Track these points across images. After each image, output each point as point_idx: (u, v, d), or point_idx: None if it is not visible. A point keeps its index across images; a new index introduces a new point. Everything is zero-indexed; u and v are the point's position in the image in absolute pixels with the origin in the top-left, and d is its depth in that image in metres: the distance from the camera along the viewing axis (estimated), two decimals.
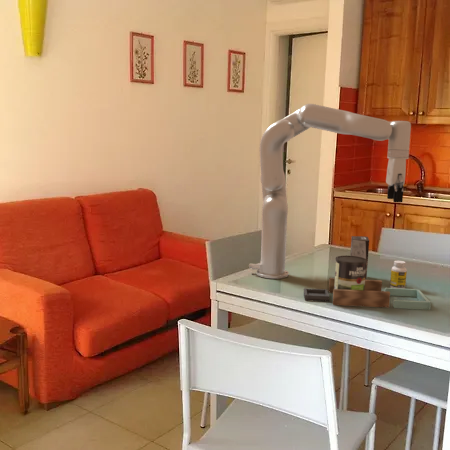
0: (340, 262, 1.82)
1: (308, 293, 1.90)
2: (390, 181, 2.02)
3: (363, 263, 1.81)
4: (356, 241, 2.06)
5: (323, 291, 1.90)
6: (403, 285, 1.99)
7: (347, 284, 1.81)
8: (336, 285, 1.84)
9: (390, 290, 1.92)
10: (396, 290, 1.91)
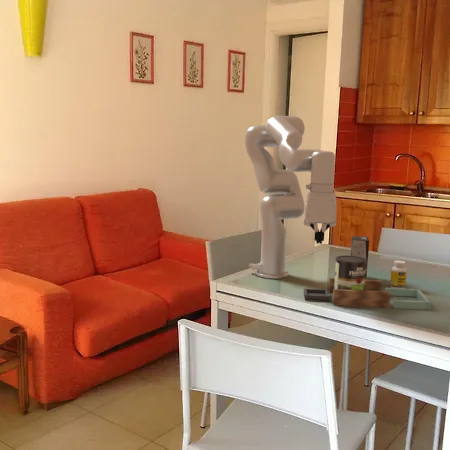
0: (340, 262, 1.82)
1: (308, 293, 1.90)
2: (330, 219, 1.80)
3: (363, 263, 1.81)
4: (356, 241, 2.06)
5: (323, 291, 1.90)
6: (403, 285, 1.99)
7: (347, 284, 1.81)
8: (336, 285, 1.84)
9: (390, 290, 1.92)
10: (396, 290, 1.91)
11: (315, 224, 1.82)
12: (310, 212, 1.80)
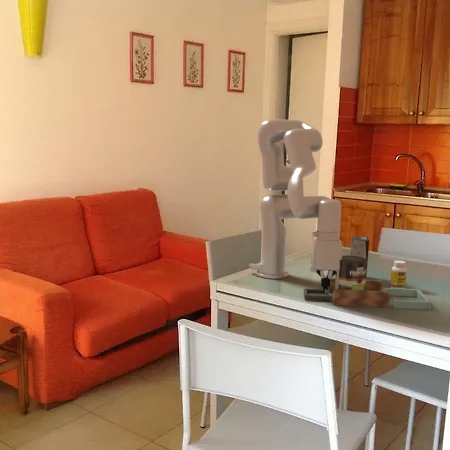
0: (341, 262, 1.82)
1: (308, 293, 1.90)
2: (336, 266, 1.82)
3: (364, 263, 1.81)
4: (356, 241, 2.06)
5: (323, 291, 1.90)
6: (403, 285, 1.99)
7: (347, 284, 1.81)
8: (337, 285, 1.84)
9: (390, 290, 1.92)
10: (396, 290, 1.91)
11: (321, 271, 1.85)
12: (316, 259, 1.83)
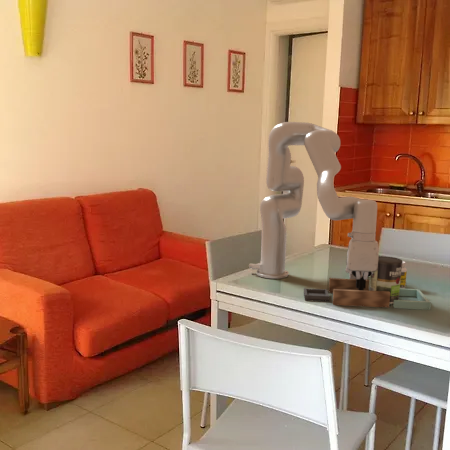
0: (380, 263, 1.81)
1: (308, 293, 1.90)
2: (372, 267, 1.81)
3: (401, 263, 1.81)
4: None
5: (323, 291, 1.90)
6: (403, 285, 1.99)
7: (387, 285, 1.81)
8: (374, 287, 1.83)
9: None
10: None
11: (357, 272, 1.83)
12: (352, 260, 1.81)
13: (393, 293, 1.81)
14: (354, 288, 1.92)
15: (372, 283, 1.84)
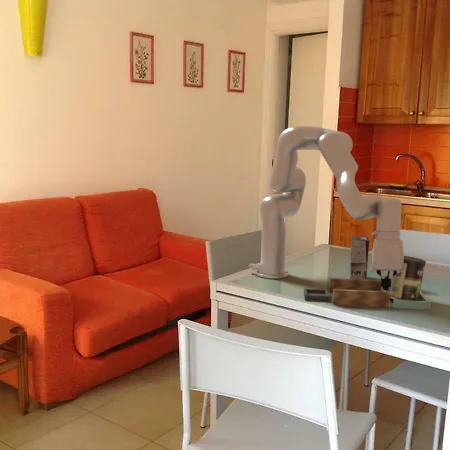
0: (409, 262, 1.80)
1: (308, 293, 1.90)
2: (397, 266, 1.80)
3: None
4: (356, 241, 2.06)
5: (323, 291, 1.90)
6: None
7: (414, 284, 1.81)
8: (400, 285, 1.82)
9: None
10: None
11: (382, 271, 1.82)
12: (377, 259, 1.80)
13: (418, 292, 1.82)
14: (354, 288, 1.92)
15: (398, 282, 1.82)
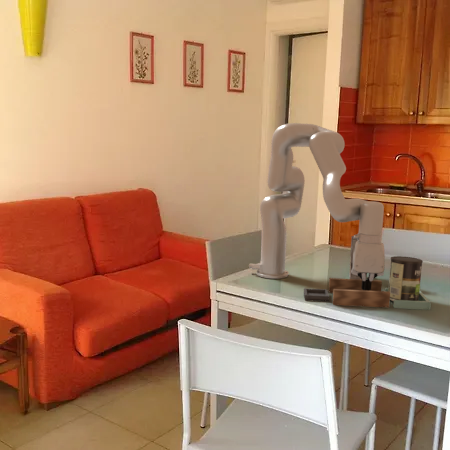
0: (405, 263, 1.80)
1: (308, 293, 1.90)
2: (378, 269, 1.81)
3: None
4: (356, 241, 2.06)
5: (323, 291, 1.90)
6: None
7: (412, 284, 1.81)
8: (399, 287, 1.82)
9: None
10: None
11: (363, 273, 1.84)
12: (358, 262, 1.82)
13: (417, 292, 1.82)
14: (354, 288, 1.92)
15: (396, 283, 1.82)
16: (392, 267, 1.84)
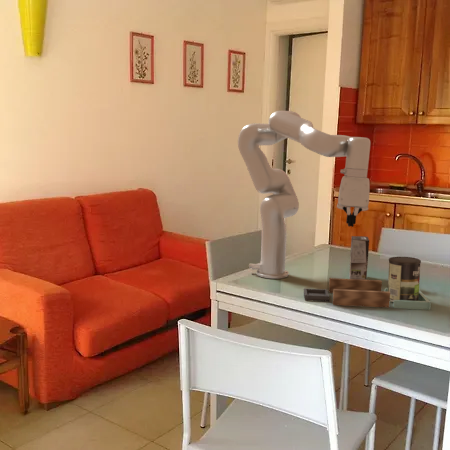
0: (403, 264, 1.80)
1: (308, 293, 1.90)
2: (363, 203, 1.87)
3: (420, 262, 1.83)
4: (356, 241, 2.06)
5: (323, 291, 1.90)
6: None
7: (411, 285, 1.81)
8: (397, 288, 1.82)
9: None
10: None
11: (348, 207, 1.89)
12: (344, 196, 1.87)
13: (416, 292, 1.82)
14: (354, 288, 1.92)
15: (395, 285, 1.82)
16: (390, 268, 1.84)
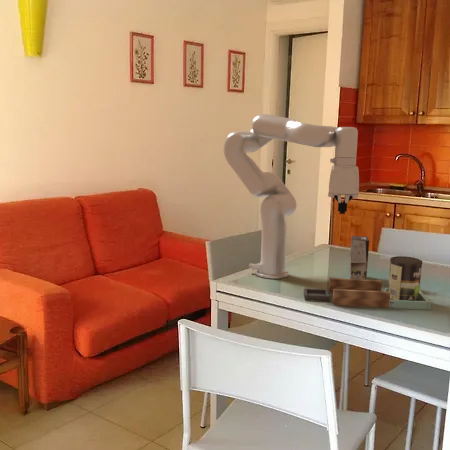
0: (404, 265, 1.79)
1: (308, 293, 1.90)
2: (353, 190, 1.93)
3: None
4: (356, 241, 2.06)
5: (323, 291, 1.90)
6: None
7: (411, 286, 1.80)
8: (397, 289, 1.82)
9: None
10: None
11: (339, 195, 1.95)
12: (334, 184, 1.93)
13: (416, 293, 1.82)
14: (354, 288, 1.92)
15: (395, 285, 1.82)
16: (391, 268, 1.83)
